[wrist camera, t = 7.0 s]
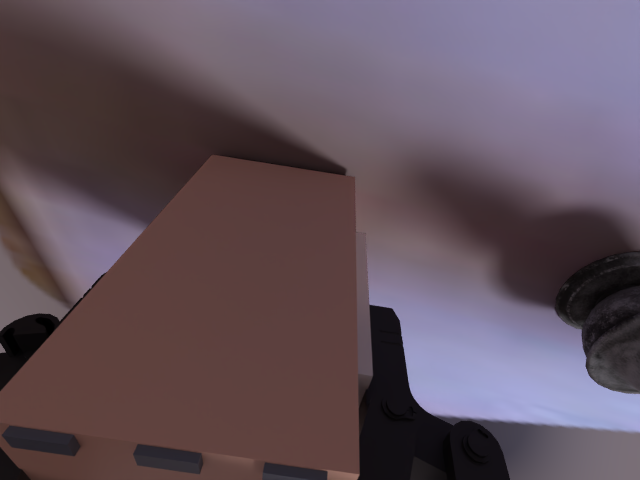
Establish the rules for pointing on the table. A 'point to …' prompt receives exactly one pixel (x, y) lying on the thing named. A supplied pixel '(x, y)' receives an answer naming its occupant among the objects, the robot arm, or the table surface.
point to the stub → (207, 343)
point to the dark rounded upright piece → (607, 319)
